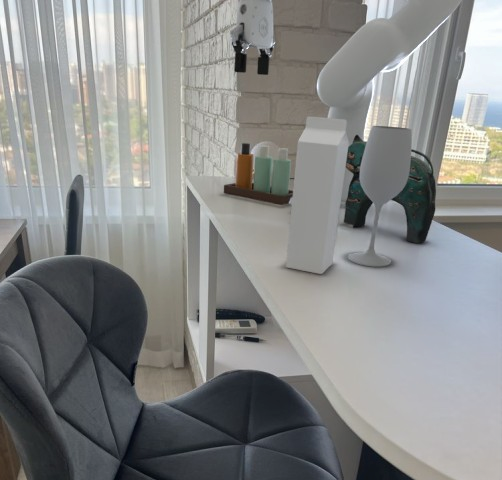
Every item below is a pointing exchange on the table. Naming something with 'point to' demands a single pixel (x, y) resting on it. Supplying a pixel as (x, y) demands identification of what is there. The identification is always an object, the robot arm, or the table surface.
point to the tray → (258, 194)
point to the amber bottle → (244, 167)
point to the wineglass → (383, 178)
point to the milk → (317, 194)
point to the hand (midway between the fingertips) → (251, 73)
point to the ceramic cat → (411, 197)
